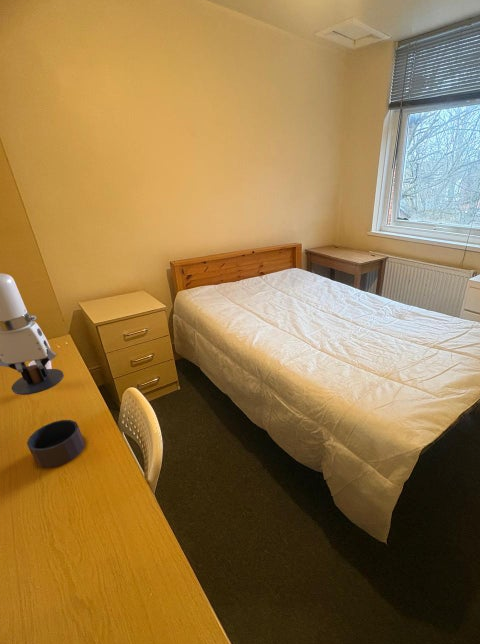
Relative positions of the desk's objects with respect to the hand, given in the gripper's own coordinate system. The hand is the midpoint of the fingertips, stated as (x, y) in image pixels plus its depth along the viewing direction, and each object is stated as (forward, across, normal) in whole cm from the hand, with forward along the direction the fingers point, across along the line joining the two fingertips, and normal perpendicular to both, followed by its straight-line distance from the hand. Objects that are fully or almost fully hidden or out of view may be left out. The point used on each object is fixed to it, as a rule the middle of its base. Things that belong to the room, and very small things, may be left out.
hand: (37, 379), depth 92 cm
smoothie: (+16, +7, -24) cm, 30 cm away
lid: (+1, 0, 0) cm, 1 cm away
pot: (+16, -4, +14) cm, 22 cm away
